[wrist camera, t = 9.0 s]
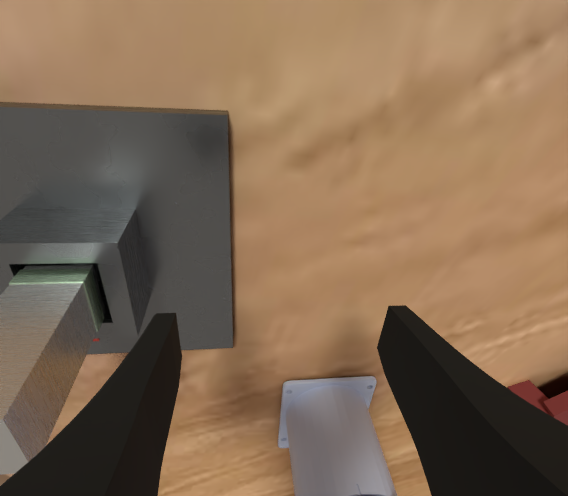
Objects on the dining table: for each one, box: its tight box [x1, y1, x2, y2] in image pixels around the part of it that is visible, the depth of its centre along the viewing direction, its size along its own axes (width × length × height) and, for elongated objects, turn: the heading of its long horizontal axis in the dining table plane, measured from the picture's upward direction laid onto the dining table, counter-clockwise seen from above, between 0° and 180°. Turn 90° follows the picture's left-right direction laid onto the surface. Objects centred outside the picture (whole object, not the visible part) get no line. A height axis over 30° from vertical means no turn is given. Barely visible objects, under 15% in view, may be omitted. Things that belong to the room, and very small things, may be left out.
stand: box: [0, 102, 233, 354], centre depth 19 cm, size 16×16×4 cm
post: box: [0, 265, 106, 474], centre depth 15 cm, size 3×3×8 cm
